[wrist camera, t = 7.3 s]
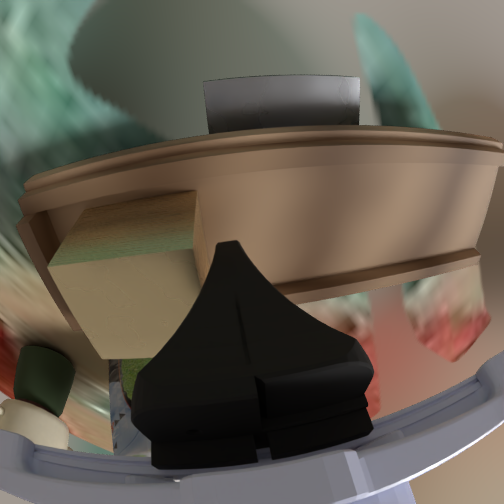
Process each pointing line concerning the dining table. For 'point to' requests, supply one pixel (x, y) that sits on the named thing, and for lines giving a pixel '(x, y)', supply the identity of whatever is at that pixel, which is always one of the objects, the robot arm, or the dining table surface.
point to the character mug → (39, 397)
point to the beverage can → (126, 408)
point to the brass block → (133, 272)
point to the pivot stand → (281, 102)
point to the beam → (294, 201)
